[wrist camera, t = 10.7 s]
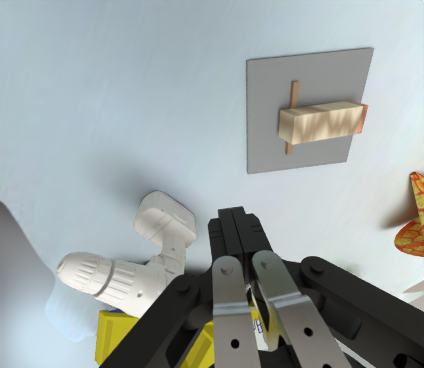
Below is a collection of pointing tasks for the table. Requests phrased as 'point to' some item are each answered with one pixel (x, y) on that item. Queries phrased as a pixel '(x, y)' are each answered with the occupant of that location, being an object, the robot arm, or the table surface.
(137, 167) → the table surface
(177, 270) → the power drill
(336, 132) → the birch block
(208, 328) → the toy truck
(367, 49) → the mat
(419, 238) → the sculpture
